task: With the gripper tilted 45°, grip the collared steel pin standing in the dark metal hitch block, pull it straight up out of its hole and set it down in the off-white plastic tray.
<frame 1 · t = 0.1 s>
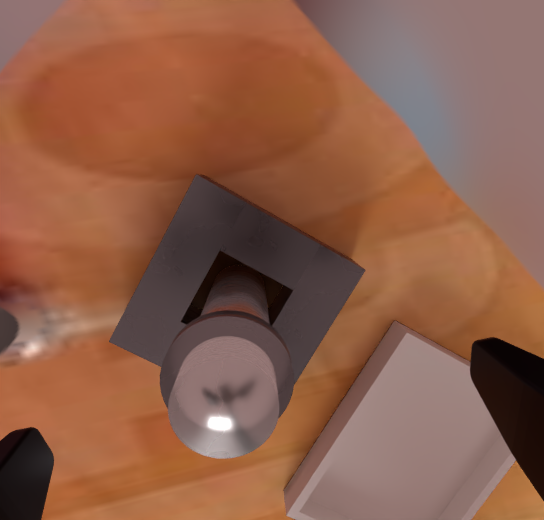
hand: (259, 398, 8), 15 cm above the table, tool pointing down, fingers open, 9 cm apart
hitch block: (238, 290, 23), on the table
steel pin: (234, 328, 17), in the hitch block
tray: (405, 443, 26), on the table
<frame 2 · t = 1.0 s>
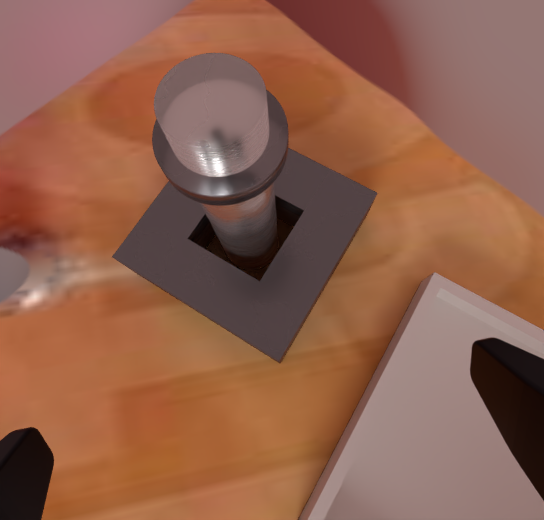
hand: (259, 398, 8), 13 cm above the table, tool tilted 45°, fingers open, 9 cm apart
hitch block: (251, 243, 23), on the table
steel pin: (238, 196, 17), in the hitch block
tray: (463, 454, 19), on the table
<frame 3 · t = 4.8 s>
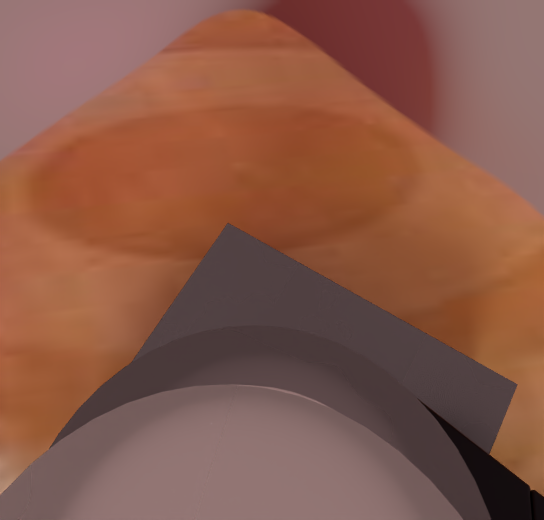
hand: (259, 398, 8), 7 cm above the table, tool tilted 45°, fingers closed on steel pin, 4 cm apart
hitch block: (280, 434, 14), on the table
steel pin: (272, 470, 8), in the hitch block, touching gripper
when the fingers open (8 cm above the table, at t = 9.3 s): steel pin stays where it is, resting on tray.
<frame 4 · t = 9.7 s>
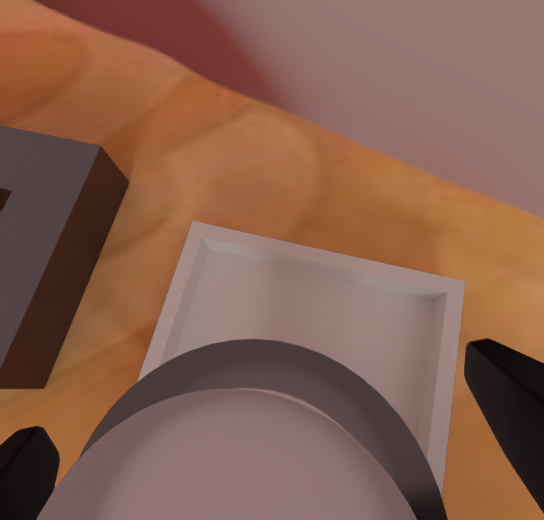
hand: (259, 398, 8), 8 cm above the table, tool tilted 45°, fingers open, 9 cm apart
steel pin: (272, 463, 9), in the tray, point 7 cm above the table
tray: (281, 429, 15), on the table
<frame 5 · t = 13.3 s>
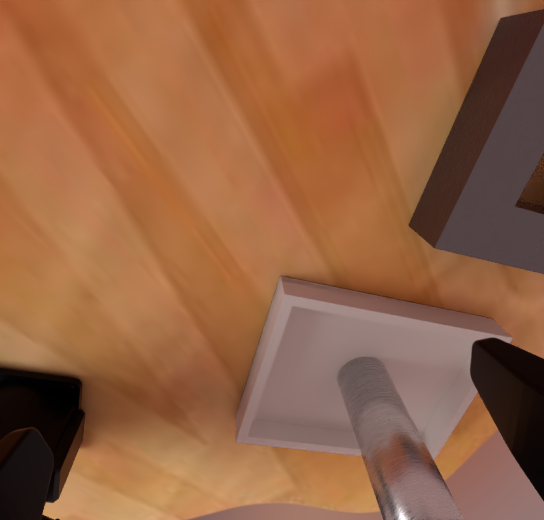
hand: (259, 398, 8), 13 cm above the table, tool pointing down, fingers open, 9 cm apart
hitch block: (533, 158, 20), on the table
steel pin: (399, 465, 19), in the tray, point 7 cm above the table
tray: (359, 369, 25), on the table
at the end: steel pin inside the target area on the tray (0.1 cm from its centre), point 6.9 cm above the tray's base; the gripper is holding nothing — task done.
